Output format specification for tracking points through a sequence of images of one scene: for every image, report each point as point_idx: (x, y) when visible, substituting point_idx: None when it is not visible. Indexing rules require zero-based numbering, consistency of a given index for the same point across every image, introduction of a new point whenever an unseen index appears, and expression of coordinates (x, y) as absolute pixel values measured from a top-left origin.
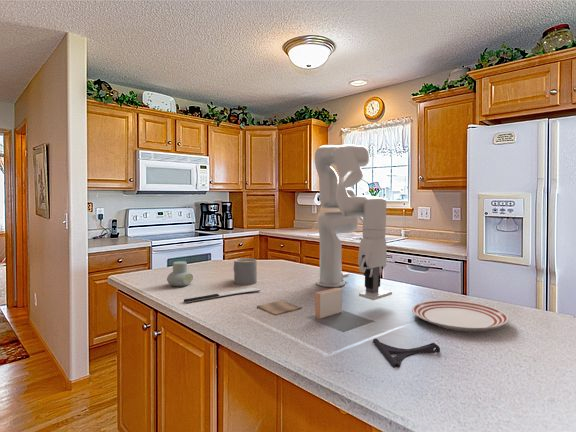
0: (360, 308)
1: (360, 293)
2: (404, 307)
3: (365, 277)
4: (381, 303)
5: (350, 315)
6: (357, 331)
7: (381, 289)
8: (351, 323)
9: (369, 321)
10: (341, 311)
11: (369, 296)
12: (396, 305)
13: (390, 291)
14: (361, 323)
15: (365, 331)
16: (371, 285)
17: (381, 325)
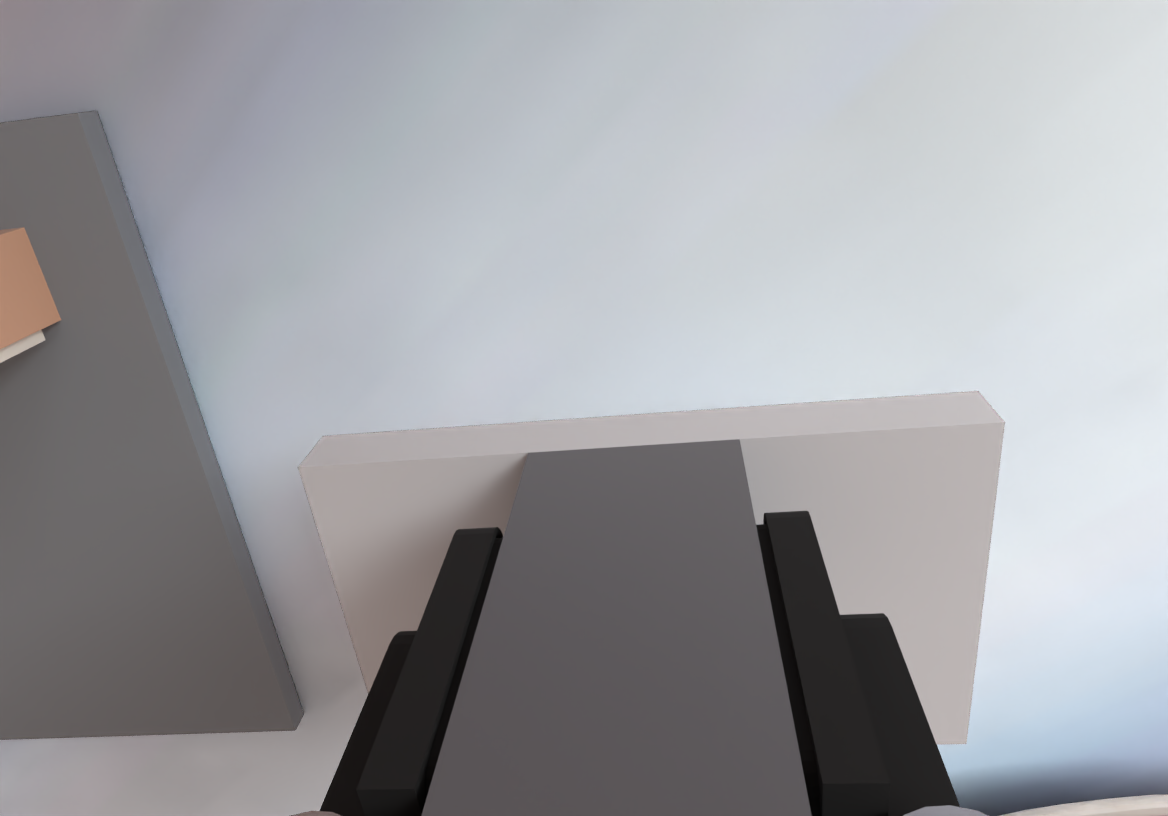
0: (509, 256)
1: (311, 498)
2: (1102, 577)
3: (381, 751)
4: (1031, 254)
5: (127, 473)
6: (18, 751)
7: (951, 548)
8: (12, 651)
9: (235, 708)
10: (35, 342)
11: (370, 683)
12: (1112, 461)
13: (964, 720)
14: (119, 701)
15: (91, 785)
16: None
17: (327, 776)
